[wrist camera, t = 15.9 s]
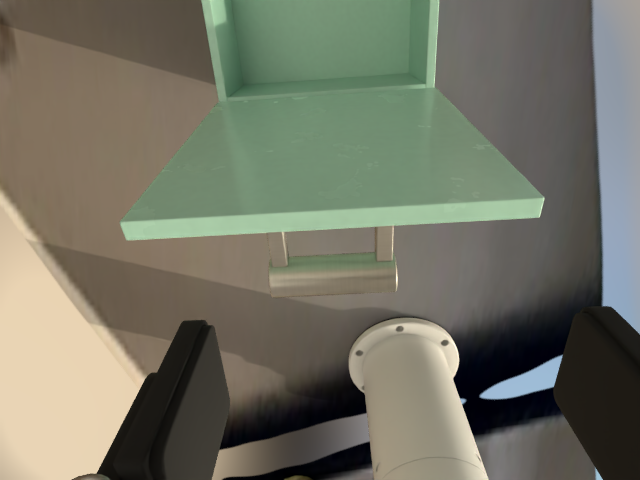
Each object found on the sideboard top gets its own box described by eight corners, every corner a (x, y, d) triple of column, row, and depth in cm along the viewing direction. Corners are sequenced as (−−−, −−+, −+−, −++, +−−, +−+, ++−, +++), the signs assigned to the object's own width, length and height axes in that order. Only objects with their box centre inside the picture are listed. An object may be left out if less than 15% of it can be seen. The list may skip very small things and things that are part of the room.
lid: (118, 222, 15) (160, 332, 17) (545, 197, 14) (515, 316, 17) (217, 102, 28) (231, 175, 31) (436, 87, 27) (430, 163, 30)
